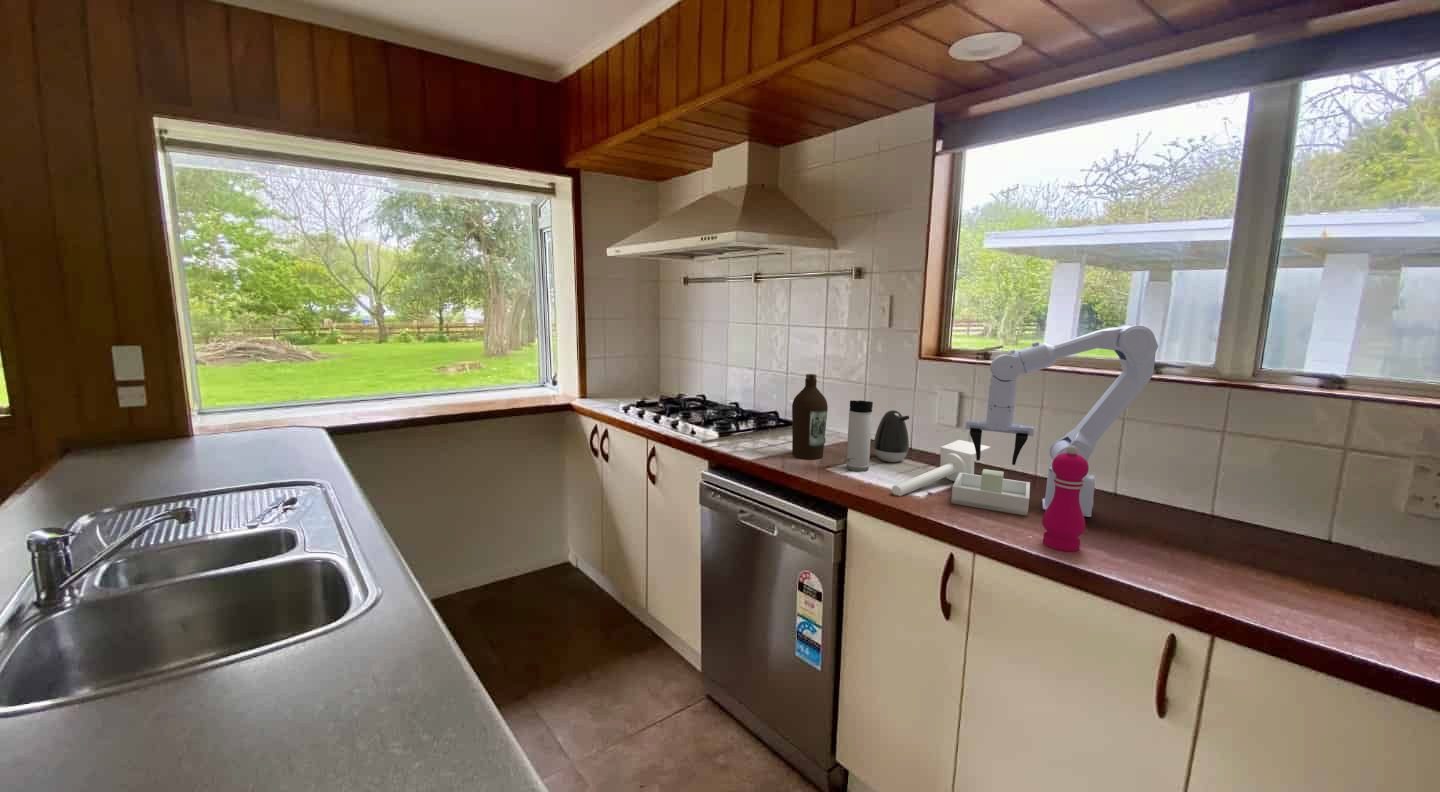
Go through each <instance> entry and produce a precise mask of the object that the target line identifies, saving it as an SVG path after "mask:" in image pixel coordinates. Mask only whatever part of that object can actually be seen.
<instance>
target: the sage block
mask: <svg viewBox="0 0 1440 792" xmlns="http://www.w3.org/2000/svg"><path fill="white" fill-rule="evenodd" d="M1004 472H1005V471H1001V470H992V469H986V468H983V469H982V471H981V476H982V477H981V488H980V490H983V491H989V492H996V493H1002V485H1003V479H1004V476H1005V475H1004V474H1005V473H1004Z"/></svg>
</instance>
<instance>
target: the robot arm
mask: <svg viewBox="0 0 1440 792" xmlns="http://www.w3.org/2000/svg"><path fill="white" fill-rule="evenodd" d="M1158 348H1159V345H1158V341H1157V339H1156V337H1155V334H1154V332H1153V331H1152V330H1151V329H1150V328H1149V327H1147V326H1144V325H1133V324H1121V325H1119V326H1117V327H1115V326H1114V327H1108V328H1104V329H1103V328H1102V329H1099V330H1095V331H1092V332H1088V333H1086V334H1083V335H1080V336H1078V337H1073V338H1071V339H1068V340H1065V341H1062V342H1059V343H1056V344H1053V345H1051V344H1049V343H1047V342H1044V341H1043V342H1041V343H1040V342H1039V341H1036V342H1035V341H1034V342H1032V343H1031V346H1027V347H1024V348H1021V349H1018V350H1015V349H1010V350H1009V353H1010V355H1009V354H1006V353H1005V354H1004V353H1003V354H999V355H996V357H995V358H993V359H992V361H991V363H990V365H989V370H990V372H991V377H990V380H989V382H990V385H989V388H988V397H987V398H988V399H987V409H986V410H987V412H986V420H972V419H966V421H965V427H964V429H965V430H969V435H970V438H971V440H972V443H974V446H975V450H976V455H975V456H976V459H975V460H976V461H980V460H981V455H982V454H981V445H982V435H983V431H984V432H994V433H1005V434H1014V435H1015V440H1014V448H1013V449H1014V450H1013V454H1012V460H1011V461H1012V462H1011V465H1013V466H1016V463H1017V459H1018V457H1019V454H1020V452H1021V450H1022V448H1023V447H1024V446H1025V444H1026V443H1027V441H1028V439H1029V438H1028V437H1034V432H1035V431H1034V430H1035V427H1034V426H1030V425H1023V424H1016V423H1014V416H1015V405H1016V398H1017V397H1016V396H1017V386H1016V385H1017V377H1018V376H1019V375H1020V374H1021V375H1028V374H1031V373H1033V372H1037V371H1041V370H1044V369H1047V368H1051V367H1053V366H1054V364H1055V363H1056V361H1057V360H1058V359H1061V358H1066V357H1068V356H1072V355H1076V354H1077V355H1078V354H1080V353H1084V352H1087V351H1091V350H1095V349H1102V350H1110V351H1114V353H1115V354H1116V355H1117V356H1118V360H1119V363H1120V365H1121V370H1122V371H1121V373H1120V374H1119V375H1118V376H1117V378H1115V380H1114V381H1113V382H1112V384H1111V385H1110V386H1109V387H1108V388H1107V390H1106V391H1105V392H1103V394H1102V396H1101V397H1100V398H1099V399H1098V400H1097V401H1096V403H1095V404H1093V407H1091V409H1090V410H1089V411H1088V412H1087V414H1085V416H1084V417H1083V419H1081V421H1080V422H1079V423H1078V424H1077V425H1076V427H1075V428H1073V429H1071V430H1070V431H1068V432H1067V433H1066V434H1065V436H1063V437H1062V438H1060V439H1058V440H1056V441H1054V442H1053V443H1052V444H1051V445H1050V448H1049V455H1050V458H1051V459H1052V460H1054V459H1055V457H1056V456H1058V455H1060V454H1063V453H1068V452H1067V448H1068V447H1069V446H1075V447H1076V448H1077V450H1078V451H1077V453H1076V454H1077V455H1080V456H1082V457H1083V458H1084V459H1085V460H1086V461H1087V463H1088V464H1089V458H1090V457H1091V455H1092V454H1093V453H1094V452H1095V448H1096V445H1097V442H1098V440H1100V439H1101V438H1102V436H1104V434H1105V433H1106V431H1107V430H1108V429H1109V428H1110V427H1111V425H1113V423H1115V421H1116V420H1117V418H1118V417H1120V415H1121V414H1122V413H1123V412H1124V411H1125V409H1126V408H1127V407H1128V406H1129V404H1130V403H1131V402H1132V401H1133V400H1134V399H1135V398H1136V396H1137V395H1138V394H1139V393H1140V392H1141V390H1142V389H1144V387H1145V386H1146V384H1147V383H1149V381H1150V380H1151V379H1152V377H1153V375H1154V371H1155V364H1156V363H1155V362H1156V353H1157V351H1158ZM1054 476H1056V474H1055V473H1054V471H1053V469H1052V463H1051V464H1050V465H1048V470H1047V478H1046V479H1047V480H1046V488H1045V495H1044V496H1045V497H1044V498H1042V509H1043V510H1044V511H1046V509H1047V508H1048V506H1049V505H1050V503H1051V502H1052V499H1053V497H1054V493H1055V484H1054V483H1053V481H1054ZM1082 480H1083V481H1084V483H1083V488H1082V489H1080V494H1079V502H1080V507H1081V510H1082V513H1083V516H1084V517H1088V518H1091V517H1092V512H1093V511H1092V509H1093V507H1094V495H1095V484H1096V476H1095V475H1093V474H1089V473H1087V475H1086V476H1085V477H1084V478H1082Z"/></svg>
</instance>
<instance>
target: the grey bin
mask: <svg viewBox="0 0 1440 792" xmlns="http://www.w3.org/2000/svg"><path fill="white" fill-rule="evenodd" d="M981 477H982V474H980V475H979V474H975V473H974V474H967V473H960V472H959V474H958V476H957V479H956V481H954V483H953V484H952V487H951V500H950V503H951V504H955V505H961V506H967V507H973V508H979V509H985V510H991V511H995V512H1003V513H1009V514H1014V515H1020V516H1026V517H1027V516H1028V513H1029V506H1030V505H1029V504H1030V491H1031V481H1023V480H1015V479H1009V478H1003V485H1002V493H996V492H989V491H983V490H980V488H981Z"/></svg>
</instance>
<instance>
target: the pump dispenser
mask: <svg viewBox="0 0 1440 792" xmlns="http://www.w3.org/2000/svg"><path fill="white" fill-rule="evenodd" d="M909 419H910V415H902V414H901V413H900V412H899V411H898V410H894V409H891V410H888V411H887V412H885V413H884V415H883V416H882V418H881V419H880V421H879V424H878V425H877V428H876V432H875V434H874V435H875V436H874V440H873V449H874V453H875V455H876V457H877V458H879V460H882V461H883V462H886V461H887V462H888V463H898V462H900V461H902V460H904V459H905V458H906V457H907V454H908V451H909V450H910V442H909V441H910V440H909V433H908V428H907V424H906V422H905V421H907V420H909Z"/></svg>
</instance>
